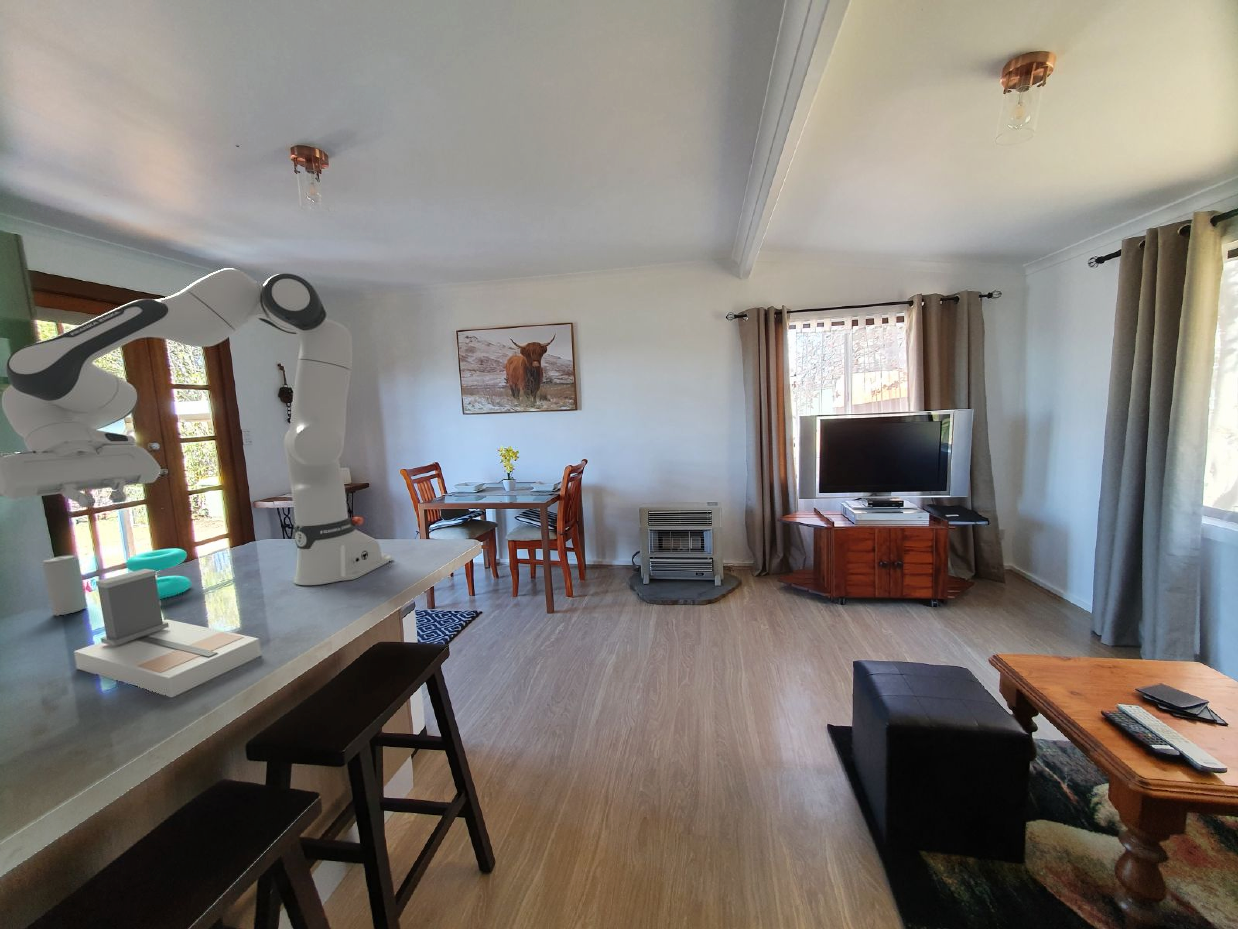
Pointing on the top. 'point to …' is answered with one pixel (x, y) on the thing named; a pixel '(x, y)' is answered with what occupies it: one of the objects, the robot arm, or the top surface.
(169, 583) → the donuts
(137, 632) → the fader knob
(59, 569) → the beverage can
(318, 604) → the top surface
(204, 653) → the fader console
